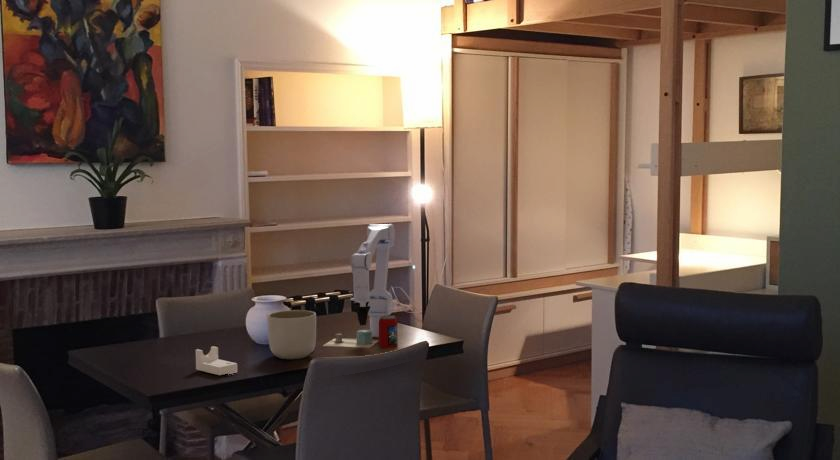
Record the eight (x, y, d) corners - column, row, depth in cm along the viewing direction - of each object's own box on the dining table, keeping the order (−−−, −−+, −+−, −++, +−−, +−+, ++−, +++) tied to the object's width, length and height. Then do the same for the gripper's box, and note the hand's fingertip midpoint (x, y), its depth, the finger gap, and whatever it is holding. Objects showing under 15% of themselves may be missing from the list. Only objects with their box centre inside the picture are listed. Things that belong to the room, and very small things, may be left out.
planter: (280, 364, 325) (279, 320, 324) (260, 355, 339) (259, 313, 338) (325, 357, 334) (324, 315, 333) (304, 349, 348) (303, 308, 347)
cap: (359, 341, 355) (359, 329, 355) (373, 342, 354) (373, 330, 354) (355, 344, 350) (354, 332, 350) (369, 345, 349) (369, 332, 348)
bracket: (196, 372, 316) (195, 349, 316) (214, 368, 322) (213, 346, 321) (219, 378, 308) (218, 355, 307) (237, 374, 313) (236, 351, 312)
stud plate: (334, 341, 362) (334, 330, 362) (380, 343, 358) (380, 332, 358) (322, 348, 349) (322, 337, 348) (369, 350, 344) (369, 339, 344)
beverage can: (395, 351, 343) (394, 318, 342) (377, 350, 344) (376, 318, 343) (399, 347, 349) (399, 315, 348) (381, 347, 351) (381, 314, 350)
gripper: (349, 283, 353) (350, 319, 355) (351, 289, 339) (352, 327, 340) (368, 282, 354) (369, 318, 356) (371, 289, 340) (371, 326, 341)
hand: (362, 323), depth 348 cm, fingers open, 7 cm apart
